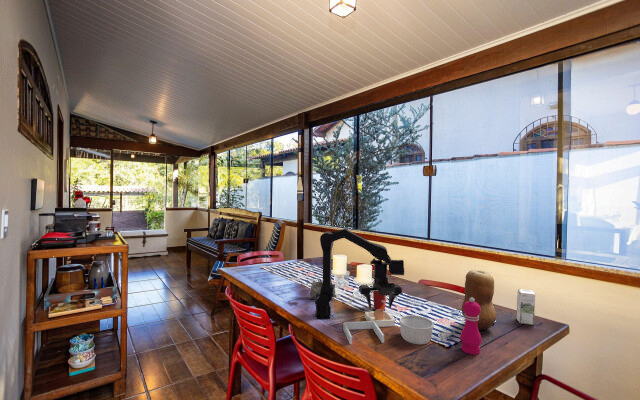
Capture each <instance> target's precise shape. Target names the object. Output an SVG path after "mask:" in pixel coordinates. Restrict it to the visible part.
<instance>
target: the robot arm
mask: <svg viewBox="0 0 640 400" xmlns="http://www.w3.org/2000/svg"><path fill="white" fill-rule="evenodd" d="M342 239H345V240H347V241H349V242H351V243H353V244H355V245H357V246H358V247H360V248H362V249H364V250H365V251H367V252H368V253H369V254H370V255H371V256H372V257H373V258H372V260H370V263H369V264H370V265H374V267H373V269H374V270H373V271H374V272H373V273H374V274H373V280H374V284H372V286H371V287H370V286H369V285H368V284H360V285H359V286H358V292H359V293H360V295H362V296H363V297H365V299H366V302H367V305H368V308H369V310H370V309H372V303H371V302H372V301H371V298H372V297H371V296H372V295H371V292H372V293H373V292H379V294H380V295H382V296H383V295H386V296H388V309H391V308H392V306H393V303H394V301H395V299H396V298H397V297H398V296H400V295H401V294H403V288H402V287H401V286H400V285H399V284H396V283H394V282H389V278H388V273H389V274H390V275H391V276H403V277H404V276H405V262H404V259H392V258H391V256H390V255H389V254H388V249H387V247H386V246H384V245H382V244H379V243H376V242H371V241H370V240H368V239H366V238H364V237H362V236H360V235H358V234H356V233H355V232H352V231H351V230H349V229H348V228H345V227H344V228H342V229H340V230H335V231H332V232H331V231H325V232H323V233H322V234H321V235H320V237H319V240H320V241H319V242H320V247H321V250H322V282H323V283H322V287H321V291H320V295H319V296H318V297H317V299H315V301H314V303H315V312H314V315H315V319H316V320H324V319H329V320H330V319H331V314H332V312H331V311H332V306H331V303H330V302H331V301H332V299H333V298H334V297H333V296H334V294H335V295H336V290H335V289H336V284H335V283H334V284H333V281H332V261H333V260H332V255H333V254H332V252H333V247H334V242H336V241H339V240H342ZM373 286H374V287H373ZM332 297H333V298H332Z"/></svg>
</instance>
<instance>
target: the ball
mask: <svg viewBox="0 0 640 400" xmlns="http://www.w3.org/2000/svg"><path fill="white" fill-rule="evenodd" d="M384 311H385V310H381V309H377V310H376V309H375V311H373V312H374V318H375V319H376V320H383V319H384V318H385V313H384Z"/></svg>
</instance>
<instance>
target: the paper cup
mask: <svg viewBox="0 0 640 400" xmlns="http://www.w3.org/2000/svg"><path fill="white" fill-rule="evenodd" d="M373 284H374V279H373V280H372V287H374V286H373ZM372 295H373V296H372V297H373V309H374V310H375V311H376V310H377V309H381V310H383V311H386V301H387V295H383V296H382V295H380V294H379V292H372Z"/></svg>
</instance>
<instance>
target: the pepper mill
mask: <svg viewBox="0 0 640 400" xmlns="http://www.w3.org/2000/svg"><path fill="white" fill-rule="evenodd" d="M474 301H475V300H474V298H472V297H471V298H470V299H469V301H467V302H465V303H464V305H463V311H464V312H465V313H464V316H463V317H464V327H463V328H462V330H461V332H460V335H459V337H460V338H459V339H460V341H461V350H462V352H464V353H466V354H469V355H478V354H480V352H481V347H480V346H481V344H482V343H483V342H482V341H483V340H482V335H481V333H480V330H478V326H477V322H478V320H479V316H478V315H479V314H480V312H481V308H480V306H479V304H477V303H476V302H474Z"/></svg>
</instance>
